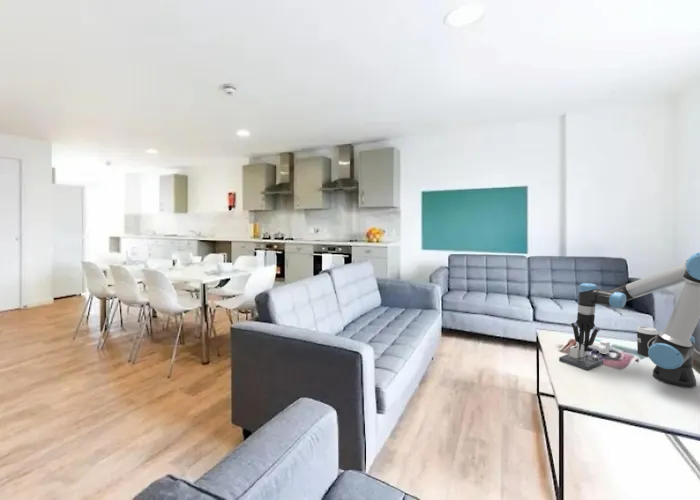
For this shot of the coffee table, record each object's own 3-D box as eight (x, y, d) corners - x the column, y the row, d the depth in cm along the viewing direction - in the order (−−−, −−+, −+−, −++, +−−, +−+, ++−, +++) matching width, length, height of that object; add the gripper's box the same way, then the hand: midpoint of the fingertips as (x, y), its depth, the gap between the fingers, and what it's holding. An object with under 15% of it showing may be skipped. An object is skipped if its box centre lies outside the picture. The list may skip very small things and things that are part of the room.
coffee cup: (647, 351, 200) (650, 325, 198) (660, 357, 190) (663, 331, 189) (630, 350, 201) (632, 325, 199) (642, 357, 191) (644, 330, 190)
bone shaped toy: (610, 354, 197) (611, 340, 197) (604, 356, 192) (605, 342, 192) (580, 346, 209) (582, 332, 209) (574, 348, 204) (575, 334, 204)
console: (603, 363, 183) (603, 357, 183) (587, 370, 175) (588, 364, 175) (574, 354, 195) (575, 348, 195) (559, 360, 187) (559, 354, 187)
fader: (581, 356, 187) (581, 347, 186) (577, 358, 185) (577, 348, 184) (573, 354, 190) (573, 344, 190) (569, 355, 188) (569, 346, 188)
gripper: (603, 315, 178) (600, 359, 181) (576, 309, 189) (573, 350, 192) (596, 317, 174) (592, 362, 177) (569, 311, 185) (566, 353, 188)
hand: (582, 356), depth 184 cm, fingers closed
